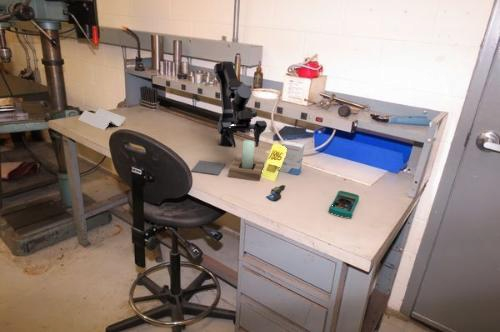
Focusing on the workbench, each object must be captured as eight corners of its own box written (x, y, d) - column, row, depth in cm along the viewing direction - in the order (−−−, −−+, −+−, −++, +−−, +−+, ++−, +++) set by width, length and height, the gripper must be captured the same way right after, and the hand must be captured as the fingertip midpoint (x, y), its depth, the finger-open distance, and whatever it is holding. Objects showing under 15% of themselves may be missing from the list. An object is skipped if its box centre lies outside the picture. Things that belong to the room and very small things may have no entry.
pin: (242, 169, 138) (244, 139, 133) (253, 171, 138) (255, 140, 133) (240, 174, 134) (242, 142, 129) (251, 175, 134) (253, 144, 129)
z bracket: (112, 136, 177) (103, 130, 172) (86, 125, 191) (77, 119, 186) (125, 117, 180) (117, 110, 175) (99, 108, 194) (91, 101, 189)
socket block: (235, 165, 142) (235, 158, 141) (263, 168, 141) (264, 162, 139) (228, 176, 131) (228, 169, 130) (259, 181, 130) (260, 173, 129)
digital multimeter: (327, 214, 111) (328, 206, 110) (337, 196, 124) (339, 188, 123) (350, 221, 109) (351, 213, 107) (358, 201, 121) (360, 194, 120)
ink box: (301, 171, 141) (305, 144, 136) (297, 175, 137) (301, 147, 132) (282, 166, 144) (285, 139, 140) (277, 170, 140) (280, 143, 135)
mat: (199, 161, 143) (199, 160, 143) (225, 164, 142) (225, 163, 142) (190, 171, 133) (190, 170, 133) (218, 175, 132) (218, 174, 132)
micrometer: (275, 199, 115) (263, 194, 118) (274, 203, 116) (262, 198, 118) (293, 186, 124) (281, 182, 126) (292, 191, 125) (281, 187, 127)
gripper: (221, 101, 130) (227, 138, 124) (267, 100, 135) (275, 136, 130) (216, 116, 139) (221, 151, 134) (259, 115, 145) (266, 148, 140)
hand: (246, 146), depth 134 cm, fingers open, 9 cm apart
